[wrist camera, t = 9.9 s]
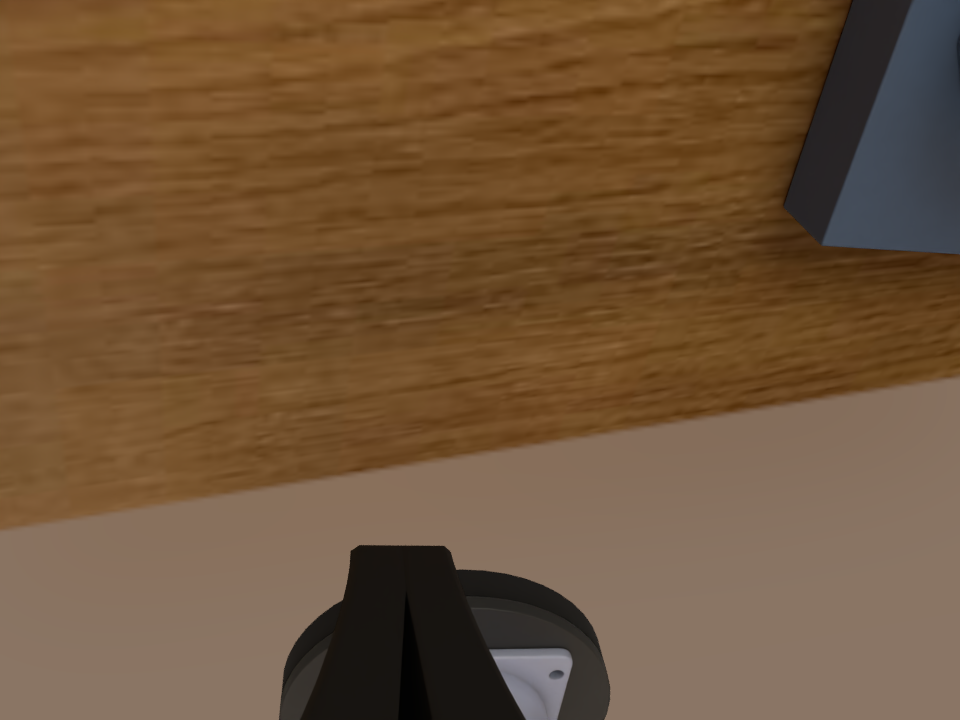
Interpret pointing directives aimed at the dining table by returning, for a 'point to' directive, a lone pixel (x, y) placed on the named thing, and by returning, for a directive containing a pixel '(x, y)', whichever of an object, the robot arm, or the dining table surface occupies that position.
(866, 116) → the block
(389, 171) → the dining table surface
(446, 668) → the robot arm
